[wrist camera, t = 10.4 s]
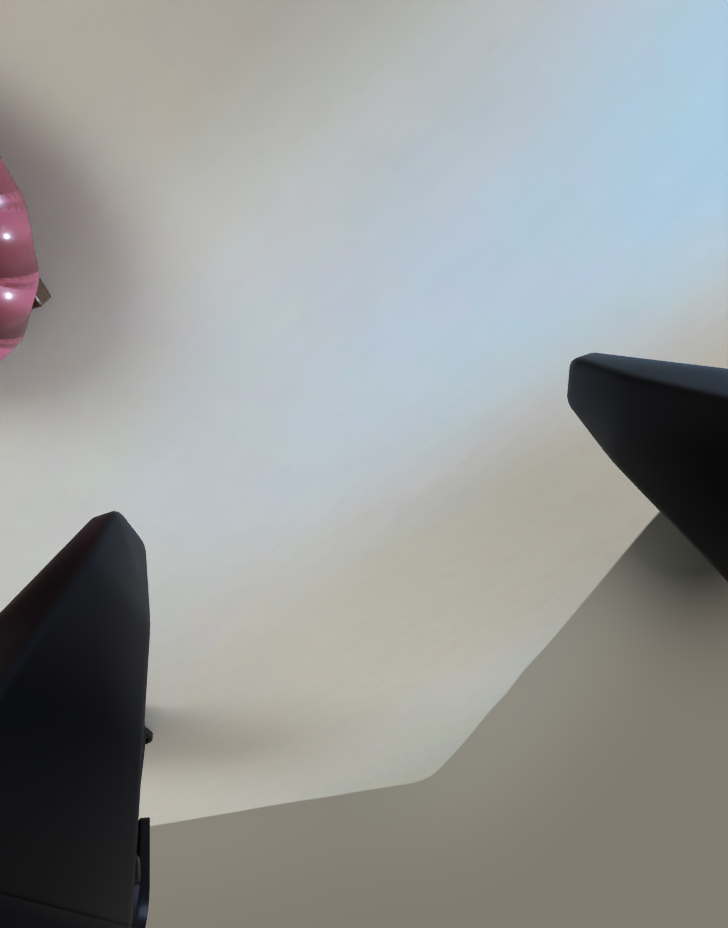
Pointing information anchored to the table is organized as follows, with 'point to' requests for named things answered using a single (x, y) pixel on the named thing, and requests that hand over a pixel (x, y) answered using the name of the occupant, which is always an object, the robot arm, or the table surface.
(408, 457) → the table surface
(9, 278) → the ring
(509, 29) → the table surface
